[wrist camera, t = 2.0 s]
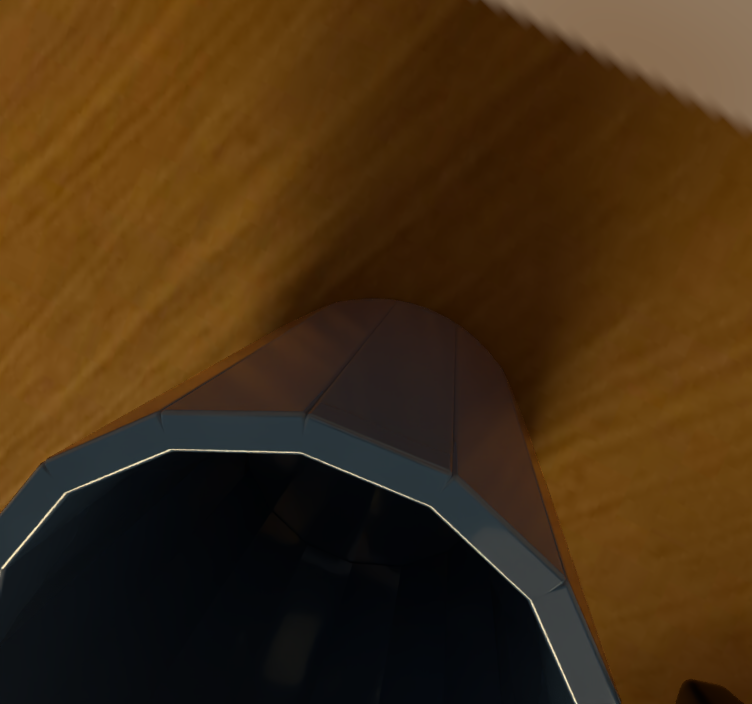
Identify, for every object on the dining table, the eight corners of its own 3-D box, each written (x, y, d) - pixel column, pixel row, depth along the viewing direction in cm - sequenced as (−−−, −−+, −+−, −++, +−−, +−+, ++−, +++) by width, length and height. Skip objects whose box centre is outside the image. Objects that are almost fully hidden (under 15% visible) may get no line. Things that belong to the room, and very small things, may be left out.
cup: (585, 443, 13) (790, 790, 5) (382, 614, 14) (294, 1071, 7) (368, 234, 12) (213, 246, 4) (187, 435, 14) (-149, 693, 6)
